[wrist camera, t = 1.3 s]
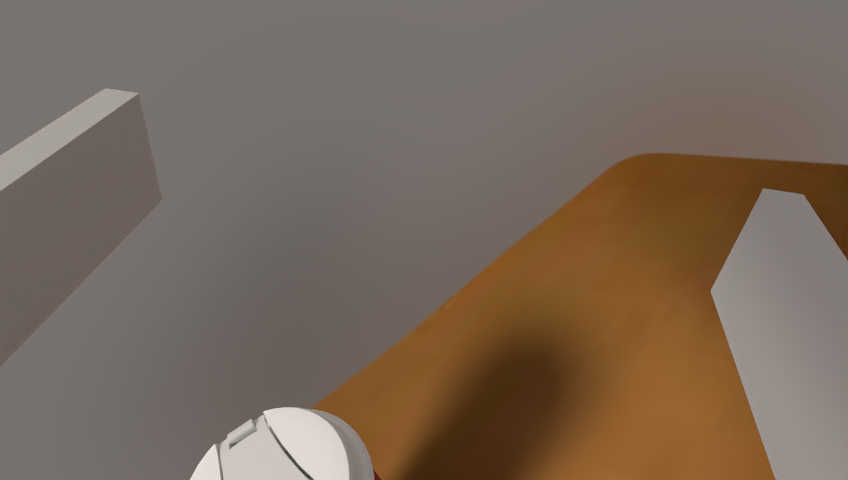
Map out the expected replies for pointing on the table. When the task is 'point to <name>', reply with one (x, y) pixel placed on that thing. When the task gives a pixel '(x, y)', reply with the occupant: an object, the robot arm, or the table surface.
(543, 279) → the table surface
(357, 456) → the paper cup
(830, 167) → the table surface
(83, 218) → the robot arm
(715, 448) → the table surface
